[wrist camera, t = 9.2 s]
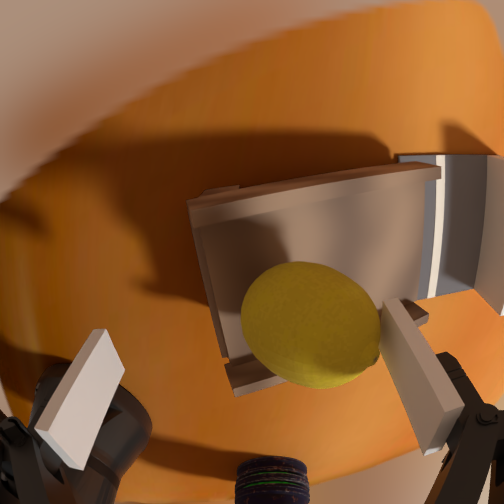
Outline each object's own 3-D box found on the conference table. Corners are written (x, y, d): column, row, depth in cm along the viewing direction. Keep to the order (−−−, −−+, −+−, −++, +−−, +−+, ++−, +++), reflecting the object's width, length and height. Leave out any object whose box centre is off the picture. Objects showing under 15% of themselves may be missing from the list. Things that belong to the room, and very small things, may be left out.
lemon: (199, 270, 15) (324, 343, 9) (287, 231, 18) (416, 268, 12) (225, 357, 17) (328, 441, 11) (298, 313, 20) (405, 367, 14)
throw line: (425, 296, 25) (427, 298, 24) (433, 154, 20) (436, 155, 20) (433, 294, 24) (434, 296, 24) (442, 154, 20) (444, 155, 20)
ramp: (230, 320, 26) (220, 397, 18) (202, 178, 21) (170, 214, 14) (410, 297, 25) (452, 361, 17) (416, 157, 20) (484, 182, 12)
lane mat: (394, 302, 25) (395, 303, 25) (397, 155, 20) (399, 156, 20) (484, 284, 24) (486, 285, 24) (498, 155, 19) (500, 155, 19)
